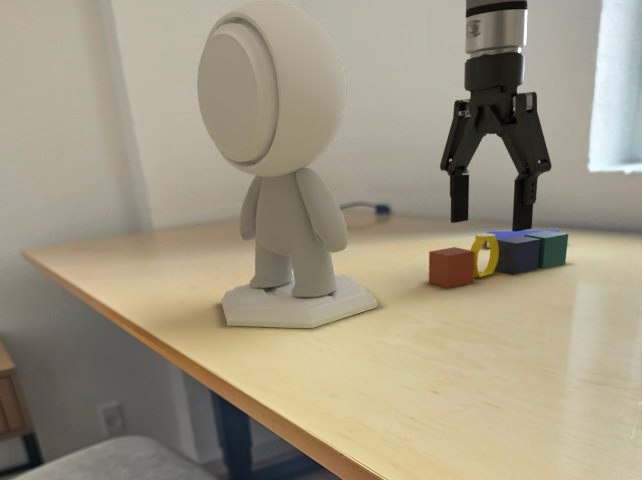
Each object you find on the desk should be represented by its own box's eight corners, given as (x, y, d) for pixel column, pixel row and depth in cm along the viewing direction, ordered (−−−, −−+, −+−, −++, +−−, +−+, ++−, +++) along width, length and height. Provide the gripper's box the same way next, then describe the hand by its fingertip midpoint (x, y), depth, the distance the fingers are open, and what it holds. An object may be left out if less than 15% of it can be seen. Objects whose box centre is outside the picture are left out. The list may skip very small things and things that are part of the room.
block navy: (516, 265, 102) (519, 235, 100) (537, 269, 99) (540, 239, 97) (493, 269, 101) (495, 239, 99) (513, 274, 97) (516, 243, 95)
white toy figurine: (187, 313, 91) (139, 14, 75) (312, 279, 104) (294, 17, 88) (274, 340, 77) (238, -20, 61) (407, 297, 90) (405, -11, 74)
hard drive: (487, 239, 115) (562, 236, 112) (487, 230, 122) (557, 228, 119) (487, 248, 116) (561, 246, 113) (486, 239, 123) (556, 237, 120)
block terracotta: (453, 277, 98) (454, 246, 96) (472, 283, 94) (474, 251, 92) (428, 282, 97) (429, 251, 94) (447, 288, 93) (447, 256, 91)
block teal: (544, 259, 104) (546, 230, 102) (565, 264, 101) (568, 233, 98) (521, 264, 103) (524, 234, 101) (542, 268, 99) (545, 238, 97)
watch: (479, 281, 95) (481, 239, 92) (463, 279, 97) (464, 237, 94) (502, 273, 99) (504, 231, 96) (486, 271, 100) (488, 230, 98)
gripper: (415, 66, 94) (417, 221, 103) (542, 41, 73) (530, 238, 83) (458, 63, 96) (456, 215, 106) (592, 38, 76) (575, 229, 85)
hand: (488, 225), depth 94 cm, fingers open, 13 cm apart
